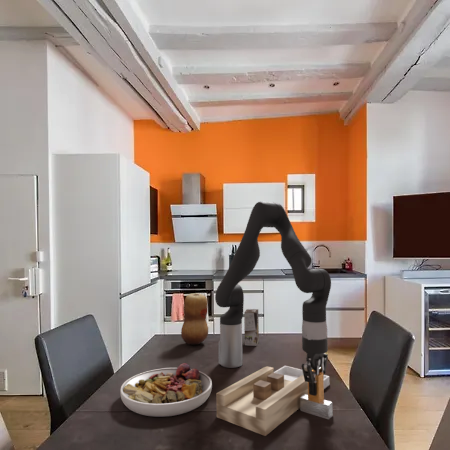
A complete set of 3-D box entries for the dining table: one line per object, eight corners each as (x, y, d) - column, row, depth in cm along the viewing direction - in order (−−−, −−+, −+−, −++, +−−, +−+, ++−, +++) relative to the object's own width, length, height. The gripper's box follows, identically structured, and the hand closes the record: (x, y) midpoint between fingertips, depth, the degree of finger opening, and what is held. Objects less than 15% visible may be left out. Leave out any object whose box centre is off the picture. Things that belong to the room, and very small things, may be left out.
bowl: (187, 429, 102) (187, 400, 102) (100, 412, 112) (100, 386, 112) (224, 387, 130) (224, 364, 130) (152, 376, 140) (152, 356, 140)
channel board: (216, 417, 108) (216, 393, 108) (266, 385, 130) (266, 366, 130) (265, 436, 97) (264, 409, 97) (310, 398, 119) (310, 377, 119)
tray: (265, 385, 130) (265, 376, 130) (285, 373, 141) (284, 365, 141) (312, 398, 119) (312, 389, 119) (329, 384, 130) (329, 376, 130)
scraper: (300, 411, 111) (299, 371, 111) (305, 406, 113) (304, 367, 114) (328, 419, 105) (327, 378, 106) (332, 415, 108) (332, 374, 108)
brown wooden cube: (253, 397, 112) (253, 384, 112) (260, 392, 115) (260, 380, 115) (264, 400, 109) (264, 387, 109) (271, 396, 112) (271, 383, 112)
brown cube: (267, 388, 118) (267, 376, 118) (273, 384, 121) (273, 372, 121) (277, 391, 115) (277, 379, 115) (284, 387, 118) (283, 375, 119)
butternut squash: (197, 349, 172) (196, 296, 173) (175, 345, 179) (175, 294, 180) (214, 342, 183) (213, 292, 184) (193, 338, 191) (192, 291, 192)
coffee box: (257, 346, 177) (256, 312, 177) (244, 345, 178) (243, 312, 178) (259, 340, 186) (258, 309, 186) (246, 340, 187) (246, 308, 187)
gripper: (313, 328, 118) (314, 382, 117) (292, 338, 107) (293, 397, 106) (335, 331, 113) (336, 387, 113) (316, 342, 102) (317, 404, 102)
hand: (315, 392), depth 110 cm, fingers closed on scraper, 3 cm apart
